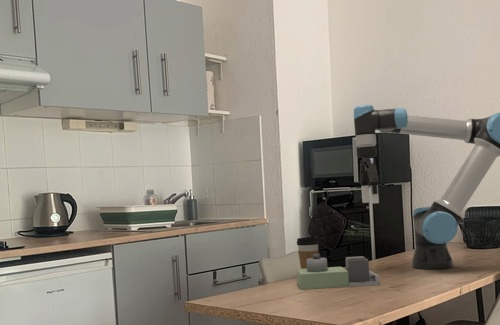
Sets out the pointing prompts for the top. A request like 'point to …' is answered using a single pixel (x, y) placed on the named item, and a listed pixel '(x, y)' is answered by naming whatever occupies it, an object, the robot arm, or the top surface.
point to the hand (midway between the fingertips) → (370, 203)
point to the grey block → (357, 269)
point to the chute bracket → (373, 281)
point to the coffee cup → (307, 249)
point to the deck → (321, 275)
